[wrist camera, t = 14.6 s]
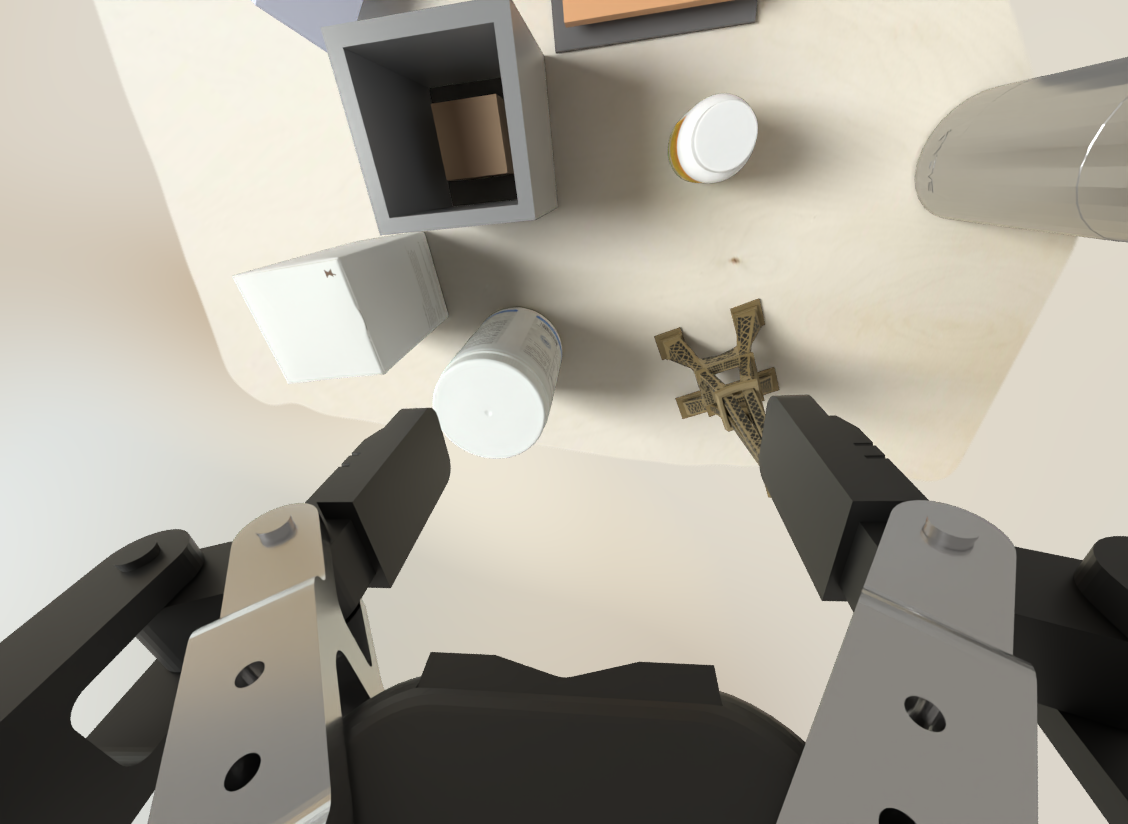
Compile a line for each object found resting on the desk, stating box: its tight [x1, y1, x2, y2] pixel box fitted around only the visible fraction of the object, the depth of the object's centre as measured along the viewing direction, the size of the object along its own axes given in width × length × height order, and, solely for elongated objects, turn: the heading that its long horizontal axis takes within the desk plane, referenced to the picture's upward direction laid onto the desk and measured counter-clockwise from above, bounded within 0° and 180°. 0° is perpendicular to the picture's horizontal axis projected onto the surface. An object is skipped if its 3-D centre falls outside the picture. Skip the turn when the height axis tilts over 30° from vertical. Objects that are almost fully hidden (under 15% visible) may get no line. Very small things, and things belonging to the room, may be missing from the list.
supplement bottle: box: [668, 93, 758, 183], centre depth 31 cm, size 5×5×10 cm
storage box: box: [320, 0, 558, 235], centre depth 31 cm, size 11×11×13 cm
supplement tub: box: [433, 307, 562, 459], centre depth 40 cm, size 10×10×15 cm
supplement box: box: [232, 231, 448, 384], centre depth 37 cm, size 9×9×15 cm
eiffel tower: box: [654, 299, 779, 498], centre depth 34 cm, size 11×11×25 cm
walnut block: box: [431, 94, 514, 181], centre depth 34 cm, size 5×5×6 cm
